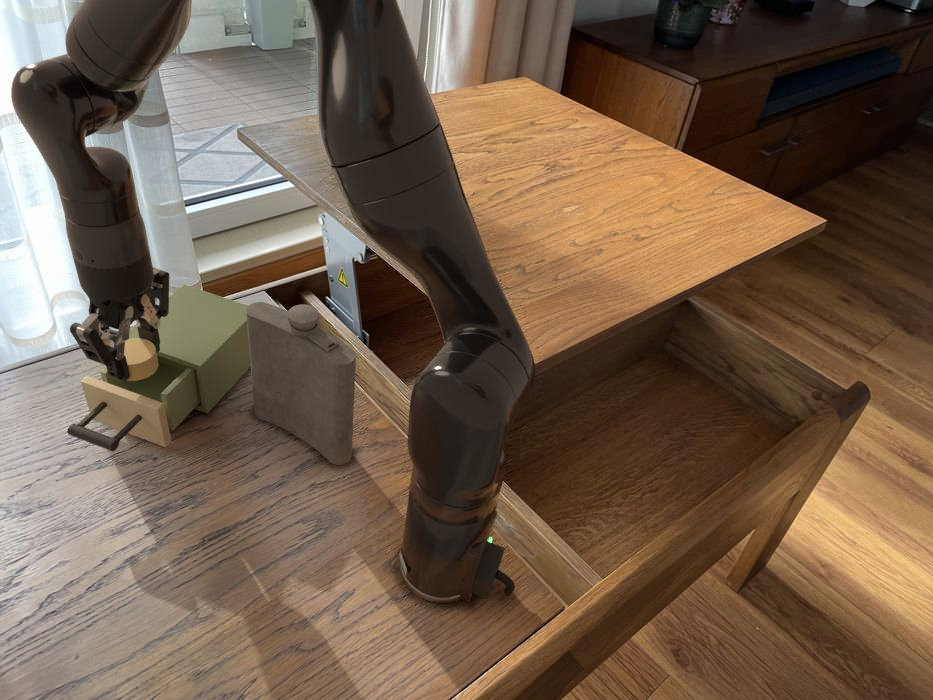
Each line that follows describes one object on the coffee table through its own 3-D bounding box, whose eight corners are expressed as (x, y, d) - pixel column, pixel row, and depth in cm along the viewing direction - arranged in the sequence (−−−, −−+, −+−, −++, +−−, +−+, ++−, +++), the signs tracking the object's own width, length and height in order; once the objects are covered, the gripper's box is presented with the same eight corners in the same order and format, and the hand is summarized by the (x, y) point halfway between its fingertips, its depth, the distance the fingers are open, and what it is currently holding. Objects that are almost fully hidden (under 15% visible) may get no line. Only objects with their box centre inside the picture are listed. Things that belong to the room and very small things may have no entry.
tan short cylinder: (167, 361, 89) (164, 345, 88) (140, 385, 86) (137, 369, 84) (132, 349, 90) (129, 333, 88) (105, 373, 86) (101, 356, 85)
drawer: (135, 480, 85) (125, 441, 81) (58, 450, 87) (44, 411, 83) (223, 386, 99) (218, 348, 94) (155, 361, 101) (147, 324, 96)
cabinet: (207, 413, 96) (200, 366, 90) (130, 385, 98) (118, 337, 92) (261, 354, 106) (258, 308, 100) (190, 330, 108) (183, 284, 102)
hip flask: (249, 412, 97) (238, 293, 84) (271, 396, 100) (263, 278, 87) (341, 469, 92) (344, 351, 79) (360, 450, 94) (367, 333, 82)
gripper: (92, 291, 71) (123, 411, 82) (182, 226, 81) (198, 340, 92) (29, 269, 72) (67, 390, 83) (125, 208, 83) (148, 322, 94)
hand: (136, 363), depth 87 cm, fingers closed on tan short cylinder, 5 cm apart
